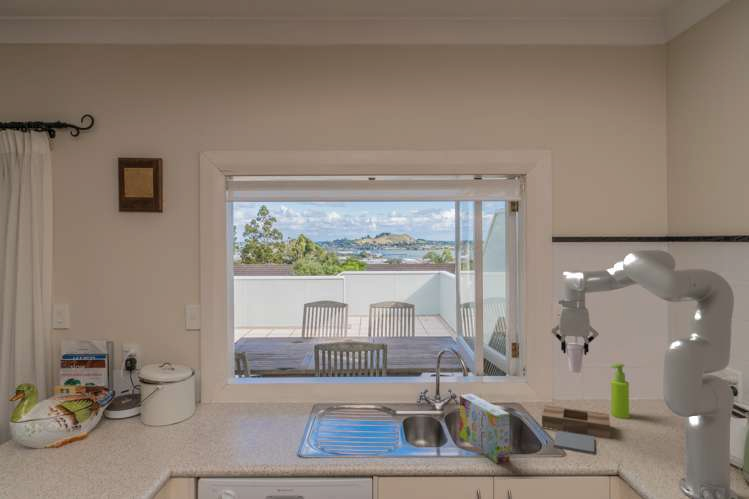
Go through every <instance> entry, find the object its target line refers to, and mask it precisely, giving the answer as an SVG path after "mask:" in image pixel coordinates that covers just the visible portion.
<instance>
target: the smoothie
mask: <svg viewBox="0 0 749 499" xmlns="http://www.w3.org/2000/svg"><path fill="white" fill-rule="evenodd" d="M574 337H575V342H568V343H567V342H566V344H565V345H566V355H567V360H568V361H567V362H568V367H569V372H571V373H575V374H576V373H577V374H578V373H581V372H582V365H583V356H584V343H583V344H582V343H578V336H574Z"/></svg>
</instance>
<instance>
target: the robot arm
mask: <svg viewBox="0 0 749 499" xmlns="http://www.w3.org/2000/svg"><path fill="white" fill-rule="evenodd" d="M676 265H677V263H676V259H675V258H674V256H673V255H672V254H670V253H669V252H667V251H665V250H661V249H645V250H644V249H643V250H634V251H631V252H630V253H628V254H627V255H626V256H625V258H623V259H619V260H617V261H616V262H615V263H614V265H613V267H611V268H607V269H601V270H597V269H596V270H585V271H583V270H579V269H578V270H574V269H572V270H571V269H570V270H564V271H563V272H562V275H561V277H562V278H561V280H562V283H561V284H562V299H561V300H558V305H561V306H562V307H560V310H559V316H558V318H559V319H558V323H559V324H557V325H556V326H555V327H554V328H553V329H552V330H551V333H552V334H553V335H554V336H555V338H557V339H558V340H559V342H561V344H560V347H561V348H560V349H561V351H562V352H563V354H567V348H566V345H565V344H567V342H566V337H575V336H577V338H578V337H582V338H583V340H584V342H583V345H584V349H583V356H584V355H585V356H587V353H590V352H589V346H590V343H591V342H593V341H594V339H596V338H597V337H598V336H599V332H598V330H596V329H595V328H593V327H592V326H591V325H590V324H591V322H590V313H589V309H588V308H587V307H586V293H587V294H588V293H599V292H601V293H602V292H609V291H611V292H612V291H615V290H619V289H624V288H627V287H630V286H633V285H639V286H640V287H642V288H644V289H645V290H646V291H649V292H650V293H651V294H653V295H654V296H656V297H658V298H660V299H661V300H662V301H663V300H664V301H666V302H672V303H680V302H690V301H691V302H692V301H696V302H697V304H696V307H694V310H693V312H692V314H691V320H690V331H689V336H688V337H682V338H678V339H675V340H673V341H672V342H670V343H669V345H668V346H667V348H666V350H665V353H664V358H663V359H664V360H663V362H664V363H663V378H662V379H663V380H662V395H663V400H664V402H665V404H666V406H667V408H668V409H669V410H670V411H671V412H672V413H673V414H675V415H677V416H680V417H683V418H685V421H684V422H685V424H684V426H685V428H684V430H685V431H684V438H685V440H684V442H685V443H684V444H685V445H684V446H685V448H684V449H685V450H684V451H685V453H684V454H685V476H684V477H681V478H680V479H679V481H678V488H679V489H680V491H681V492H682V493H684V494H685V495H686V496H688V497H689V498H692V499H739V496H738V494H737V493H736V492H735V490H733V489H732V488H731V422H732V421H731V419H732V414H733V408H734V403H735V396H734V392H733V389H732V388H731V386H730V384H729V383H728V382H727V381H726V380H725V379H723V378H722V377H720V376H718V375H714V374H711V373H715V372H717V373H718V372H721V371H722V370H725V369H726V368H727V367H728V366H729V364H730V359H731V358H730V357H731V346H732V344H731V342H732V322H733V321H732V319H733V314H734V307H735V306H734V305H735V298H734V297H735V296H734V292H733V289H732V286H731V285H730V284H729V282H728V281H727V280H726V279H725V277H723V276H722V275H720V274H719V273H717V272H714V271H712V270H709V269H703V268H690V269H689V268H688V269H687V268H686V269H675V268H676ZM558 332H559V333H558ZM591 333H592V334H591ZM590 334H591V335H590Z"/></svg>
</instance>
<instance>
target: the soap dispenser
mask: <svg viewBox="0 0 749 499" xmlns="http://www.w3.org/2000/svg"><path fill="white" fill-rule="evenodd" d="M610 367H611V368H614V369H617V370H616V371H615V372H614V379H613V380H611V383H610V384H611V386H610V387H611V388H610V389H611V415H612V417H614V418H617V419H629V418H630V383H629V382H628V381H626V373H625V372H623V368H624V367H625V364H622V363H615V364H612V365H611V366H610Z"/></svg>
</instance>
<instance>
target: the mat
mask: <svg viewBox="0 0 749 499" xmlns="http://www.w3.org/2000/svg"><path fill="white" fill-rule="evenodd" d="M553 448H558V449H561V450H562V449H563V450H569V451H575V452H580V453H586V454H592V455H595V436H591V435H585V434H578V433H572V432H566V431H559V430H555V437H554V442H553Z"/></svg>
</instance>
